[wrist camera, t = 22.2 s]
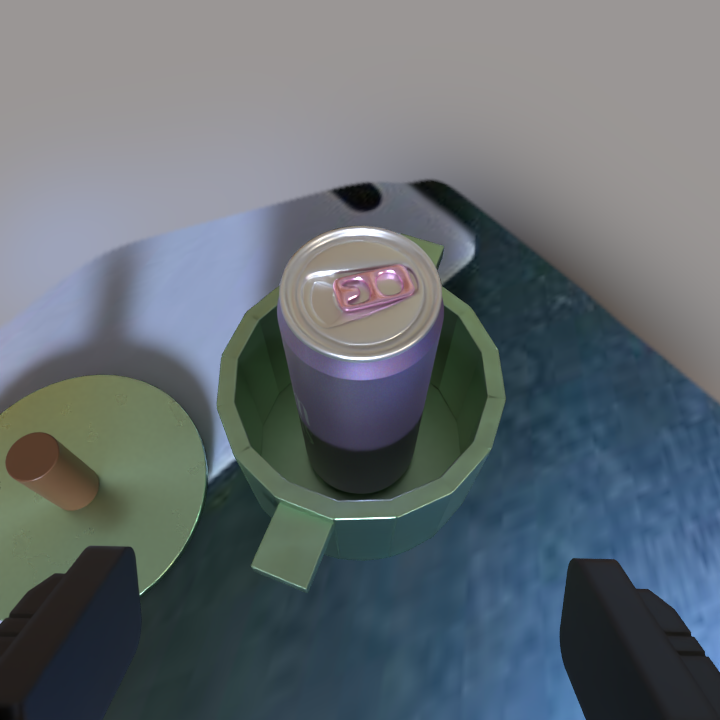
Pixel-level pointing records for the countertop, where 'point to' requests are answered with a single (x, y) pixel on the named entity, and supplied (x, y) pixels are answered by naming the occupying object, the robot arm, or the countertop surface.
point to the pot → (328, 504)
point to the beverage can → (360, 350)
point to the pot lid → (96, 480)
